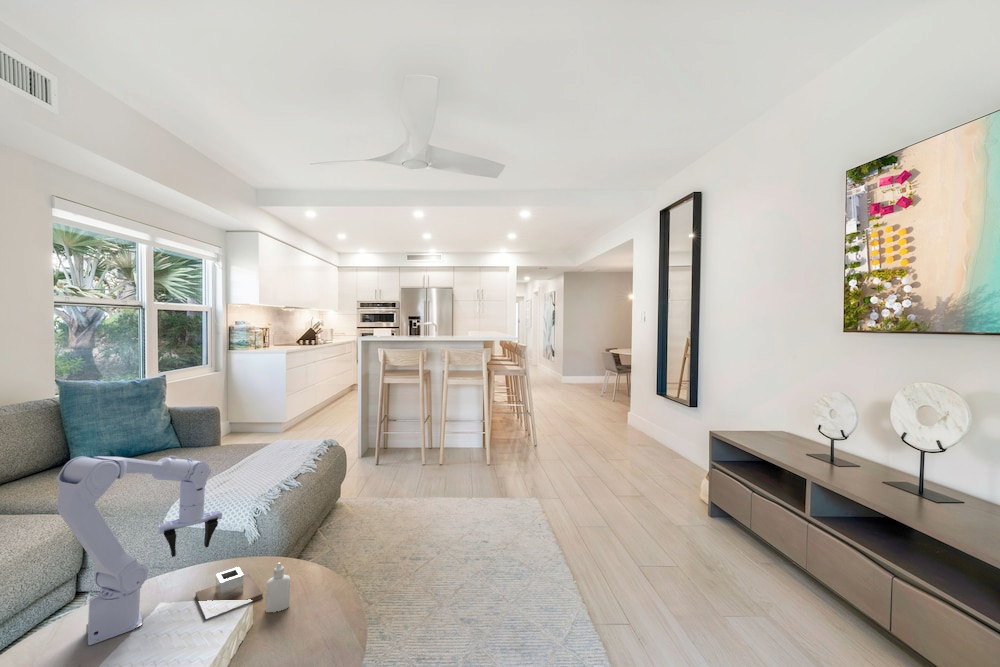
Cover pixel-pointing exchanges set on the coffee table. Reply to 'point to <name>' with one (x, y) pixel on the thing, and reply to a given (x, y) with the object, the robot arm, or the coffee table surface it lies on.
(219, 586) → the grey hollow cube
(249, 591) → the brown peg base
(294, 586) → the coffee table surface
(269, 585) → the eye dropper bottle
